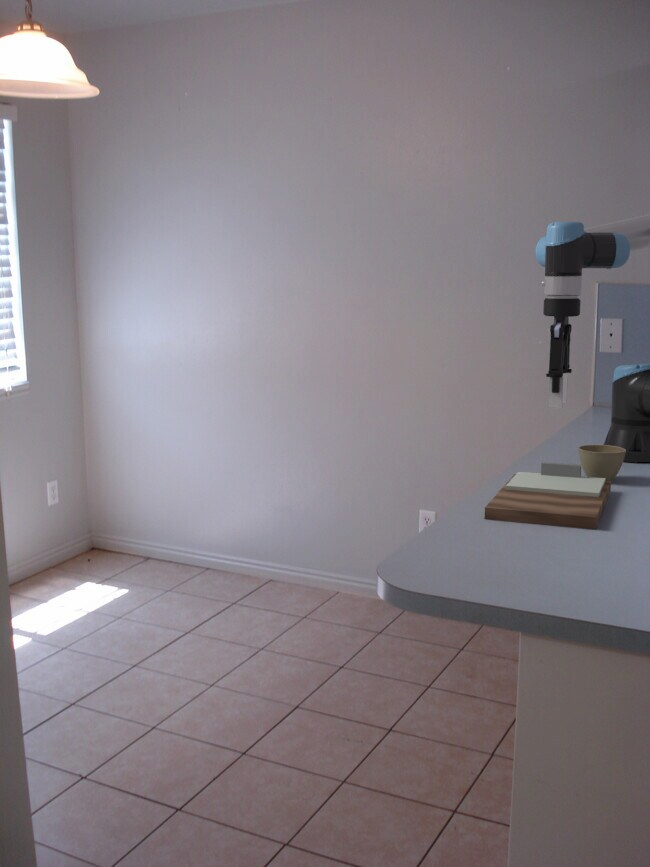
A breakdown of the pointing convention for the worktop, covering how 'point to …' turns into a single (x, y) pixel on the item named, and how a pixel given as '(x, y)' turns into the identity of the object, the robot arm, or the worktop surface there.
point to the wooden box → (548, 508)
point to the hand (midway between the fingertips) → (557, 405)
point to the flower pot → (601, 460)
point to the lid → (557, 481)
